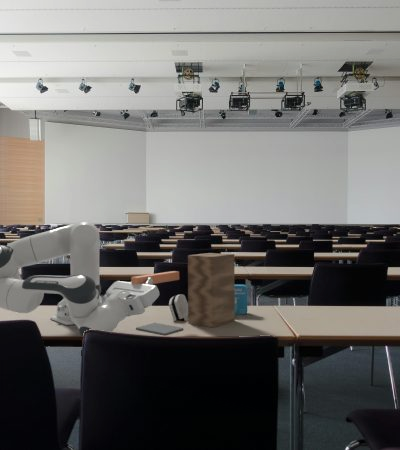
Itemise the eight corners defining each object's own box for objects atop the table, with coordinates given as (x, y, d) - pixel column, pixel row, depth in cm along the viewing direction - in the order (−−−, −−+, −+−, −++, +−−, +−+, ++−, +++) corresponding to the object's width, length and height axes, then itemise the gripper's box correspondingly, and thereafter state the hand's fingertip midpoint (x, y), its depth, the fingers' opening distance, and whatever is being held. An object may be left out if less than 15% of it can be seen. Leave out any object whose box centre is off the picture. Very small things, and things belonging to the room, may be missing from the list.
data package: (218, 314, 194) (218, 285, 194) (219, 312, 198) (219, 284, 198) (247, 314, 193) (247, 286, 192) (247, 312, 197) (247, 284, 197)
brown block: (188, 323, 178) (187, 255, 178) (209, 316, 189) (209, 252, 189) (213, 327, 171) (213, 256, 170) (234, 320, 182) (234, 254, 181)
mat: (135, 329, 168) (135, 327, 168) (154, 324, 176) (154, 322, 176) (164, 335, 160) (164, 333, 160) (183, 329, 168) (183, 327, 168)
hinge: (186, 321, 181) (177, 297, 182) (175, 325, 182) (166, 300, 182) (194, 312, 198) (186, 290, 198) (183, 315, 198) (175, 293, 199)
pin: (131, 285, 159) (131, 277, 159) (173, 278, 177) (173, 271, 177) (137, 286, 158) (137, 277, 158) (179, 279, 175) (179, 271, 175)
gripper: (103, 307, 161) (128, 283, 171) (146, 314, 149) (170, 288, 158) (96, 292, 159) (122, 269, 168) (139, 299, 146) (164, 273, 156)
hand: (146, 278), depth 163 cm, fingers closed on pin, 3 cm apart
